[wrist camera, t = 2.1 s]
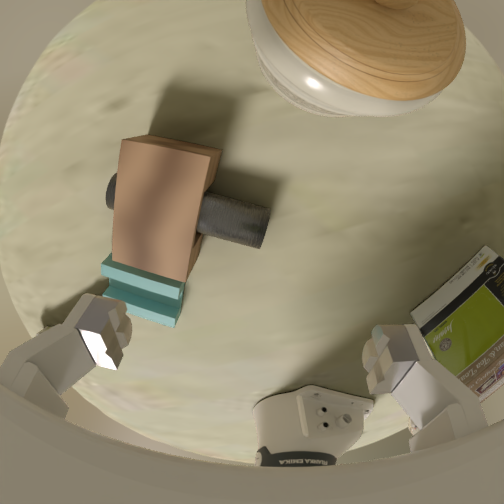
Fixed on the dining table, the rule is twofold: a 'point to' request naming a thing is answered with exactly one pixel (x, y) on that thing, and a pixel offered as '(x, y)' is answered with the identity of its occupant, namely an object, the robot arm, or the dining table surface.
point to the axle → (222, 217)
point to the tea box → (469, 323)
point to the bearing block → (161, 203)
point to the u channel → (144, 292)
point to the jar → (358, 53)
